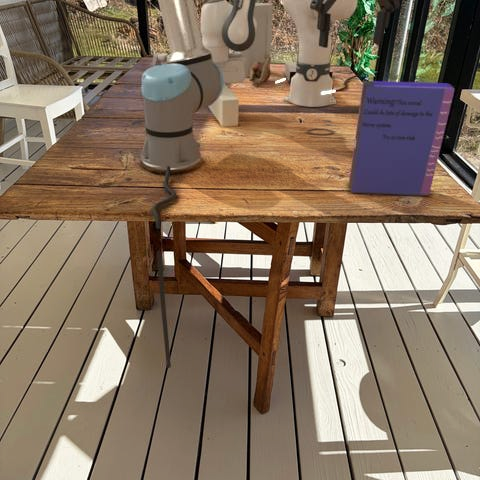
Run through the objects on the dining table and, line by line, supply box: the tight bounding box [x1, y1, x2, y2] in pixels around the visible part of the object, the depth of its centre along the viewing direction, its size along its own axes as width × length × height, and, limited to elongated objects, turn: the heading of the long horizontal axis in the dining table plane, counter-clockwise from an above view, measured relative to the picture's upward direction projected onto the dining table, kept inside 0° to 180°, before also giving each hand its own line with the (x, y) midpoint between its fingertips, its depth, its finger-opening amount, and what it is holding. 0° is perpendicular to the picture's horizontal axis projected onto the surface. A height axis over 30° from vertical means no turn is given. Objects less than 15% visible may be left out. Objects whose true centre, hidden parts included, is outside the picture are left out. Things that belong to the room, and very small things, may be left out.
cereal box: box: [348, 80, 455, 197], centre depth 104 cm, size 17×5×24 cm, turn 86°
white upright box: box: [235, 2, 274, 78], centre depth 210 cm, size 19×15×28 cm
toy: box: [152, 51, 170, 67], centre depth 222 cm, size 24×25×7 cm
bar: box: [207, 83, 240, 128], centre depth 156 cm, size 22×5×8 cm, turn 17°
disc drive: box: [284, 61, 333, 85], centre depth 207 cm, size 18×22×5 cm
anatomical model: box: [249, 55, 272, 87], centre depth 197 cm, size 13×9×15 cm
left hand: (350, 45), depth 105 cm, fingers open, 13 cm apart
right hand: (215, 97), depth 163 cm, fingers closed on bar, 5 cm apart
